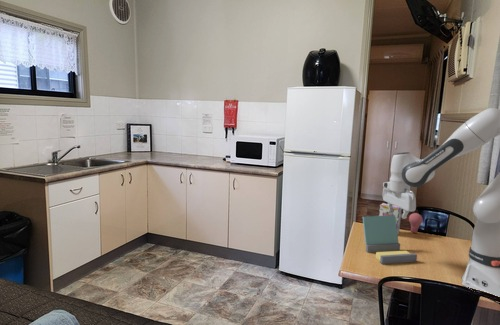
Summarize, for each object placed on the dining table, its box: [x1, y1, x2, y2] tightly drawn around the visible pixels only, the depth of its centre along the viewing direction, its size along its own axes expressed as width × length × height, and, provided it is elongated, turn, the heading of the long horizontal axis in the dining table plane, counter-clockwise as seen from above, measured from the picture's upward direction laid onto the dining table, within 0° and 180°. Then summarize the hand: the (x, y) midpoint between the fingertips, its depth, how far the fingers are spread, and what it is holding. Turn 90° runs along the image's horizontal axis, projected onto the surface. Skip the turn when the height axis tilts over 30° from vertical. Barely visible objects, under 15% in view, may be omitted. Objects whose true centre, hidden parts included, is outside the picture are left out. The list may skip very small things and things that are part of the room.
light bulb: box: [408, 212, 423, 234], centre depth 188 cm, size 7×7×12 cm
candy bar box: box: [378, 202, 403, 235], centre depth 188 cm, size 11×5×16 cm, turn 48°
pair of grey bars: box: [365, 242, 418, 265], centre depth 157 cm, size 14×18×4 cm
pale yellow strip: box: [375, 250, 411, 262], centre depth 155 cm, size 4×16×3 cm, turn 99°
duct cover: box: [362, 215, 399, 246], centre depth 166 cm, size 14×18×1 cm
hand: (397, 215), depth 152 cm, fingers open, 8 cm apart
